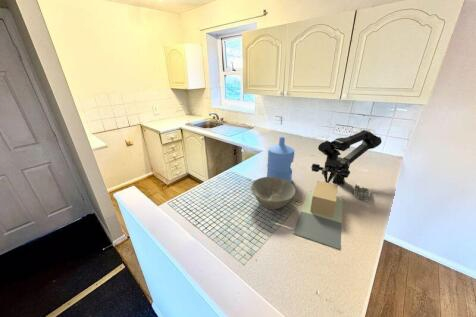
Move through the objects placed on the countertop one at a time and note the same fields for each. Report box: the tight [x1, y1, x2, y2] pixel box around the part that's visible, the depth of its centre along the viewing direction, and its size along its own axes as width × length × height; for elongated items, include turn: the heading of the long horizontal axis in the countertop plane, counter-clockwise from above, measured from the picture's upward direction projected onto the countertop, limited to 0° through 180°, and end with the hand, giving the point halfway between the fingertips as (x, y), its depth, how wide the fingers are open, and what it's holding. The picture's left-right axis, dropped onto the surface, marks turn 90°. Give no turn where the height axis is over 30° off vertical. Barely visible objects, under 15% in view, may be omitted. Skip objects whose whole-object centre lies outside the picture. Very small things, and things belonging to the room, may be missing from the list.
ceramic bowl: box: [250, 176, 296, 210], centre depth 100 cm, size 22×23×10 cm
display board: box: [292, 190, 344, 251], centre depth 93 cm, size 36×18×1 cm, turn 152°
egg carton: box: [353, 184, 371, 202], centre depth 107 cm, size 11×8×4 cm
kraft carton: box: [310, 180, 339, 217], centre depth 98 cm, size 16×10×9 cm, turn 152°
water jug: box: [266, 136, 295, 183], centre depth 119 cm, size 16×16×28 cm
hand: (326, 184), depth 105 cm, fingers closed
